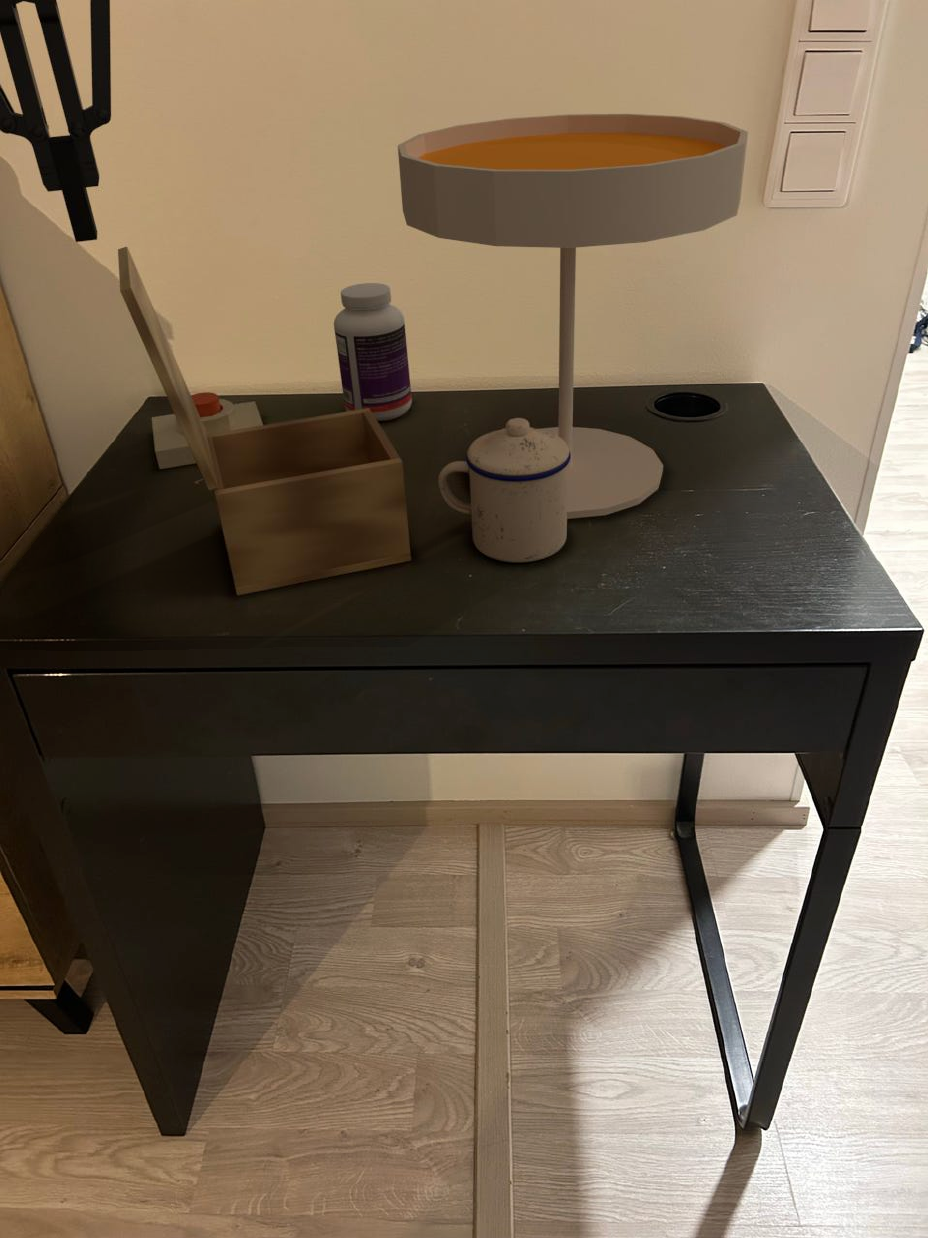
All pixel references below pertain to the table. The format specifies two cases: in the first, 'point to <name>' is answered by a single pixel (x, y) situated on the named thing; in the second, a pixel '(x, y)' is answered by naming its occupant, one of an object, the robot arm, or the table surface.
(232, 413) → the button box
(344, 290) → the pill bottle
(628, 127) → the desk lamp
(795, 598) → the table surface
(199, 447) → the wooden box lid
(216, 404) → the button
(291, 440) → the lid box
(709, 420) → the table surface
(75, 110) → the robot arm
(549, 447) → the teacup with lid
